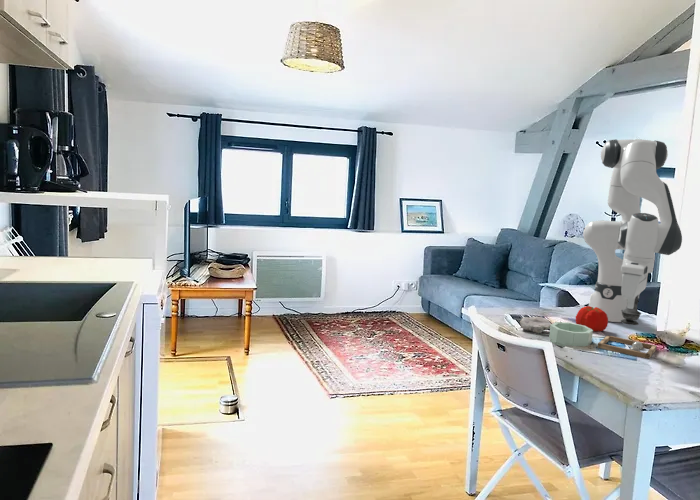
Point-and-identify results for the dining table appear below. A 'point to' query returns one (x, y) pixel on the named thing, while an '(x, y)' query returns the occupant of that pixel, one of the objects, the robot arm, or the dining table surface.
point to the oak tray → (647, 355)
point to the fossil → (535, 324)
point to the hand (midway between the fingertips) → (631, 306)
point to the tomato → (592, 318)
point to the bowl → (570, 334)
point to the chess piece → (631, 314)
